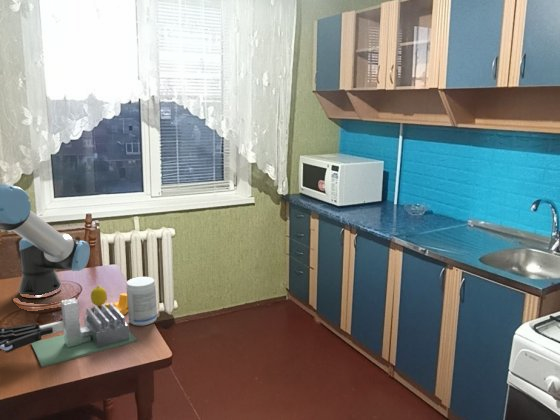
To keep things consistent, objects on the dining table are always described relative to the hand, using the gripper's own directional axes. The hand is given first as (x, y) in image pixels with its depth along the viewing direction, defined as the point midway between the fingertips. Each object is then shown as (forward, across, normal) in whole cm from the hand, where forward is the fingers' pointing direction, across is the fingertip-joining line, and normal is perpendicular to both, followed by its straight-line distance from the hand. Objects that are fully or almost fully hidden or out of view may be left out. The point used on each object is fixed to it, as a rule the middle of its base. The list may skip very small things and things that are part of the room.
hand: (63, 325), depth 150 cm
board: (+6, 0, -8) cm, 9 cm away
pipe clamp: (+20, -13, -7) cm, 25 cm away
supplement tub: (+27, -5, -8) cm, 28 cm away
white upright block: (+4, 0, -7) cm, 8 cm away
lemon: (+18, -25, -8) cm, 32 cm away
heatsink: (+11, 0, -7) cm, 13 cm away
